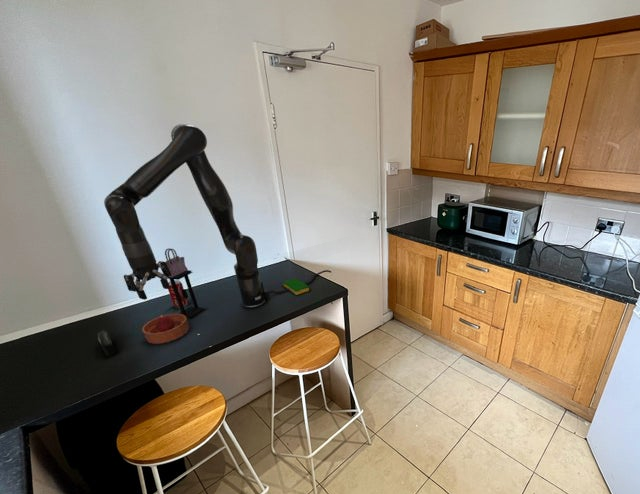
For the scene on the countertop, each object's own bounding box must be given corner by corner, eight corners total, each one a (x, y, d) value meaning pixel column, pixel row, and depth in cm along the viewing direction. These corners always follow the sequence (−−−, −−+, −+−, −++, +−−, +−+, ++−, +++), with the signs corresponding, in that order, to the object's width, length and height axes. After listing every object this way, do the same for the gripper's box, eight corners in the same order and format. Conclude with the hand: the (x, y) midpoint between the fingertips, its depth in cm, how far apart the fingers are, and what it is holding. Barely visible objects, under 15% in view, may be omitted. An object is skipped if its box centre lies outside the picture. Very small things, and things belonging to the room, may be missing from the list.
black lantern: (189, 320, 133) (165, 254, 120) (174, 318, 134) (149, 252, 121) (207, 307, 142) (187, 245, 129) (193, 306, 143) (172, 243, 130)
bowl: (171, 321, 132) (167, 311, 130) (198, 327, 128) (194, 316, 126) (137, 341, 120) (132, 330, 117) (166, 347, 116) (161, 336, 114)
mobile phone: (112, 343, 111) (103, 326, 119) (101, 347, 109) (93, 329, 117) (118, 354, 113) (109, 337, 122) (107, 358, 111) (98, 340, 120)
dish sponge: (296, 281, 166) (295, 277, 165) (309, 290, 157) (308, 286, 156) (283, 286, 162) (282, 281, 161) (296, 295, 153) (295, 290, 152)
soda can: (175, 309, 141) (166, 285, 135) (173, 304, 144) (165, 281, 139) (189, 305, 144) (181, 282, 139) (187, 301, 148) (179, 278, 142)
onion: (180, 330, 125) (174, 313, 122) (166, 338, 120) (159, 320, 117) (170, 327, 127) (163, 310, 123) (156, 335, 122) (148, 317, 118)
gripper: (125, 261, 102) (144, 304, 109) (166, 247, 114) (180, 286, 121) (109, 259, 104) (128, 301, 111) (150, 245, 116) (165, 284, 123)
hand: (155, 293), depth 116 cm, fingers open, 8 cm apart
